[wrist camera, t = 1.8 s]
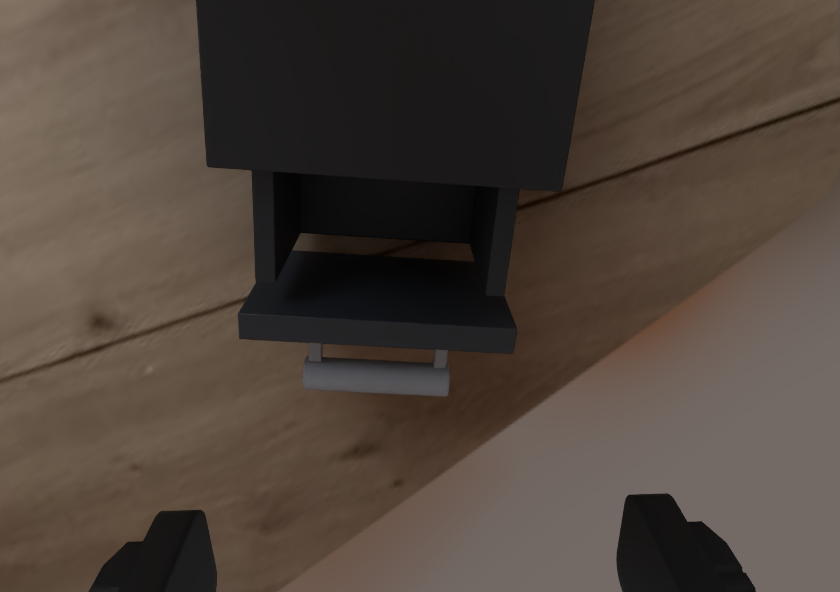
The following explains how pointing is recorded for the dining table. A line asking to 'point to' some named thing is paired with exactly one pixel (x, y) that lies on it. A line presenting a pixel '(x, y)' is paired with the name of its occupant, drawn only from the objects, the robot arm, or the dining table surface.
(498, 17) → the cabinet
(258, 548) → the dining table surface
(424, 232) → the drawer
